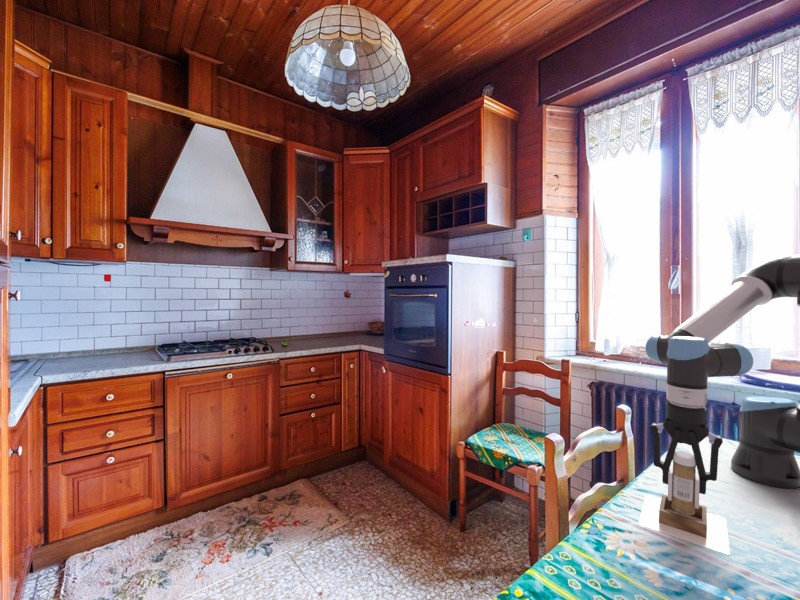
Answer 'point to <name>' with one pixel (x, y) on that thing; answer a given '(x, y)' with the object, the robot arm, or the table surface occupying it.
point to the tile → (713, 540)
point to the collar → (683, 518)
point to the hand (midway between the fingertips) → (683, 501)
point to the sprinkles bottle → (683, 483)
